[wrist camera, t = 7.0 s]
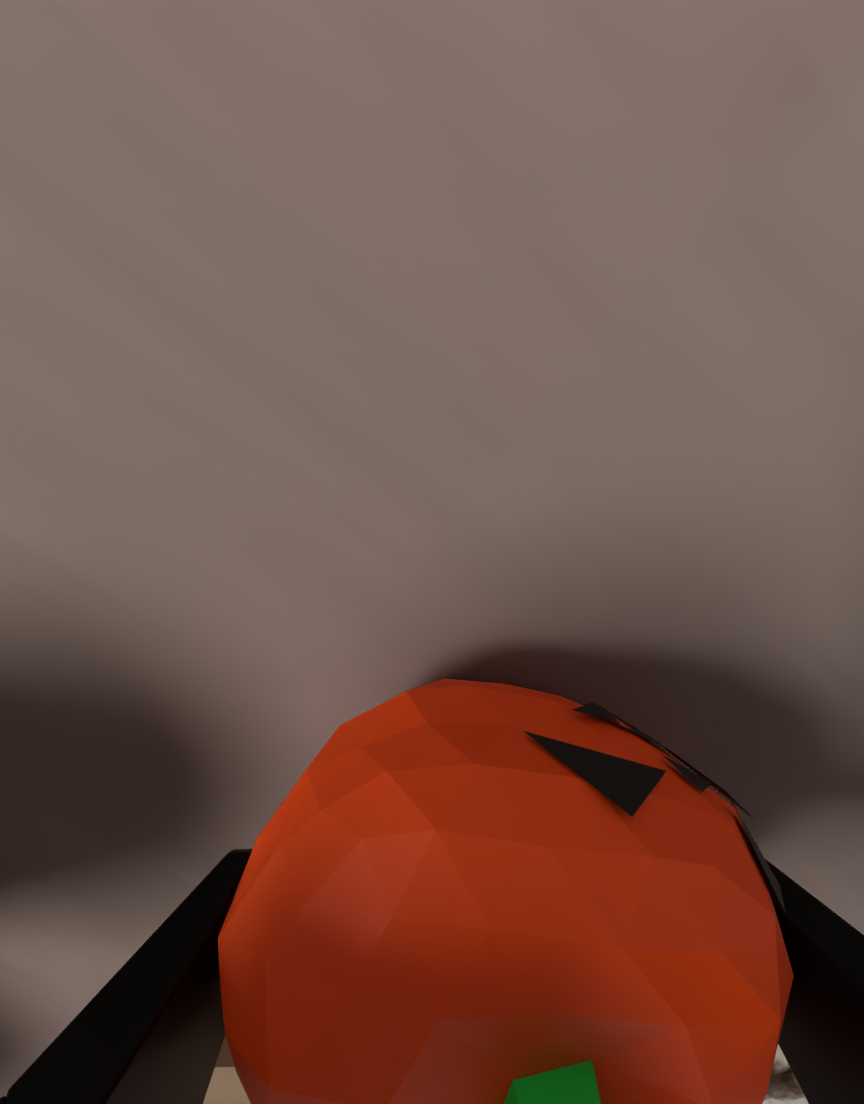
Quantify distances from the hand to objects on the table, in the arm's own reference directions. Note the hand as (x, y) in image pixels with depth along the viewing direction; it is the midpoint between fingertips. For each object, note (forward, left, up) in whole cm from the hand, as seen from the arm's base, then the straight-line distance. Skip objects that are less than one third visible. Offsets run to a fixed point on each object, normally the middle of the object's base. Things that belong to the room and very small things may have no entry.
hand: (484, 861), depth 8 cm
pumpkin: (0, 0, -2) cm, 2 cm away
